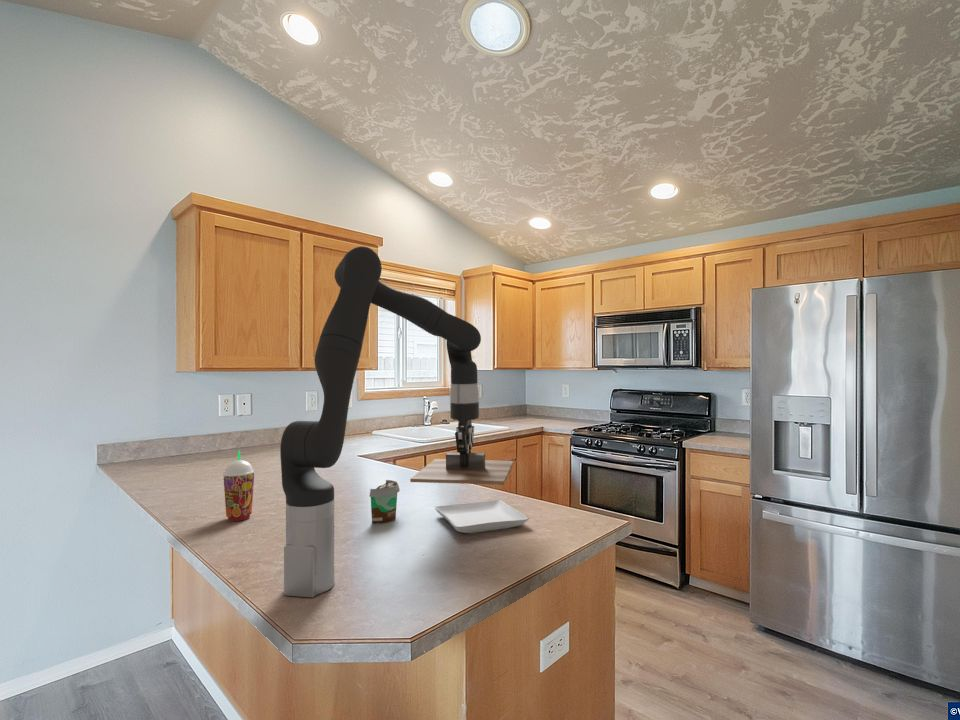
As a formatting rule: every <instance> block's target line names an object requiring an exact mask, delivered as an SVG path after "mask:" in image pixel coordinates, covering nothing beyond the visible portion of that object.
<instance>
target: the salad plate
mask: <svg viewBox="0 0 960 720" xmlns="http://www.w3.org/2000/svg"><path fill="white" fill-rule="evenodd" d="M434 508H435V509H434V510H435V511H436V512H437V513H438V514H439V515H440V516H441V517H443V518H444V520H446V521H447V522H448V523H449V524H450V525H451V526H452V527H453V528H454V530H455V531H457V532H459V533H461V534H462V533H464V534H475V533H482V532H490V531H497V530H505V529H511V528H515V527H519V526H521V525H523V524H525V523H526V522H528V520H529V518H528V517H527V516H526V515H524V514H523V513H522V512H521V511H518V510H516V508H514V507H512V506H510V505H508V504H507V503H505V502H504V501H502V500H500V499H491V500H482V501H479V500H478V501H473V502H472V501H471V502H462V503H453V504H452V503H451V504H446V505H445V504H444V505H438V506H434Z"/></svg>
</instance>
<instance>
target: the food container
mask: <svg viewBox="0 0 960 720" xmlns="http://www.w3.org/2000/svg"><path fill="white" fill-rule="evenodd" d="M399 492H400V486H399V483H398V481H396V480H391V479H390V480H389V479H386V480H385V483H384V484H381V485H379V486H377V487H376V488H370V489H369V497H370V511H371V524H372V523H374V525H376V524H377V523H380V524H386V522H387V523H390V521H391V522H393V521H395V520H396V517H397V502H398V493H399ZM394 519H395V520H394Z"/></svg>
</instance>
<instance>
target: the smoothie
mask: <svg viewBox="0 0 960 720" xmlns="http://www.w3.org/2000/svg"><path fill="white" fill-rule="evenodd" d="M224 470H225V471H224V472H223V473H222V476H223V487H224V488H223V490H224V504H225V505H224V506H225V516H226V517H227V520H228V521H229V522H242V521H241V520H243V521H245V519H246V520H248V519H249V518H250V517H251V514H252V513H253V512H252V511H253V500H254V499H253V498H254V485H255V484H254V482H255V472H256V471H255V469H254V468H253V465H252V464H251V463H250V462H249V461H247V460H243V459H241V450H237V459H236V460H234V461H232V462H230V463H229V464H228V465H227V466H226V468H225V469H224Z"/></svg>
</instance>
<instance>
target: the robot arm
mask: <svg viewBox="0 0 960 720" xmlns="http://www.w3.org/2000/svg"><path fill="white" fill-rule="evenodd" d="M382 268H383V267H382V262H381V259H380V257H379V255H378V254H377V252H375V251H374V250H373V249H372V248H370V247H367V246H362V245H361V246H357V247H354V248H352V249H350V250H348V252H347V253H346V254H345V255H344V256H343V258H342V259H341V260H340V262H339V263H338V265H337V266H336V269H335V271H334V280H335V282H336V284H337V286H338V287H339V288H340V290H339V293H338V296H337V298H336V300H335V302H334V304H333V306H332V308H331V310H330V313H329V314H328V316H327V319H326V321H325V323H324V325H323V328H322V330H321V333H320V336H319V338H318V344H317V347H316V350H315V354H314V359H313V360H314V367H315V371H316V374H317V377H318V379H319V382H320V385H321V388H322V391H323V405H322V410H321V414H320V418H319V420H296V421H291V422H290V423H289V424H288V425H287V426H286V427H285V429H284V431H283V433H282V434H281V435H282V436H281V439H280V440H281V441H280V453H279V454H280V469H281V472H280V473H281V485H282V490H283V493H284V495H285V546H284V547H283V595H284V596H287V597H288V596H290V597H301V598H302V597H303V598H315V597H316V596H318V595H320V594H323V593H326V592H328V591H329V590H330V589H332V588H333V586H335V488H334V485H333V484H332V483H331V482H330V481H328V480H326V479H325V478H323V477H321V476H320V475H319V474H318V472H317V471H316V468H317V469H327V468H331V467H333V466H334V465H336V463H337V462H338V460H339V459H340V457H341V454H342V451H343V447H344V443H345V442H344V441H345V435H346V429H347V422H348V420H347V419H348V413H349V407H350V400H351V395H352V389H353V385H354V383H355V382H354V380H355V377H356V373H357V369H358V365H359V362H360V357H361V354H362V353H361V352H362V349H363V344H364V339H365V334H366V329H367V324H368V319H369V318H368V317H369V313H370V307H371V304H372V305H375V306H376V307H380V308H381V309H384V310H386V311H388V312H390V313H393V314H395V315H397V316H399V317H401V318H403V319H405V320H407V321H408V322H410V323H412V324H413V325H415V326H417V327H418V328H420V329H421V330H423V331H424V332H426V333H428V334H430V335H432V336H434V337H438V338H439V337H440V338H441V339H442V338H443V339H444V340H446V350H447V355H448V361H449V364H450V391H449V394H450V396H449V398H450V399H449V400H450V401H449V402H450V403H449V404H450V406H449V407H450V410H449V411H450V419H451V420H453V421H456V420H457V421H458V422H457V426H456V428H455V433H454V436H455V443H456V453H459V454H460V467H461V468H468V466H469V457H468V455H469V453H472V450H473V447H474V434H475V433H474V432H475V425H473V424H472V423H473V422H472V420H477V419H479V417H480V407H479V406H480V404H479V403H480V397H479V396H480V395H479V394H480V393H479V387H478V385H479V384H478V382H479V381H478V366H477V363H476V362H474V361H473V357H472V352H473V351H475V350H477V348H478V347H479V346H480V344H481V341H482V336H481V334H480V330H479V329H478V328H477V327H476V326H475V325H473V324H472V323H470V322H468V321H466V320H465V319H462V318H459V317H458V316H455V315H452V314H450V313H448V312H447V311H445V310H444V309H443V308H441V307H439V306H438V305H437V304H434V303H433V302H432V301H430V300H429V299H427V298H424V297H421V296H419V295H416V294H411V293H409V292H405V291H401V290H397V289H395V288H393V287H390V286H388V285H386V284H385V283H383V282H382V281H380V279H381V276H382V273H383V272H382Z"/></svg>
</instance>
